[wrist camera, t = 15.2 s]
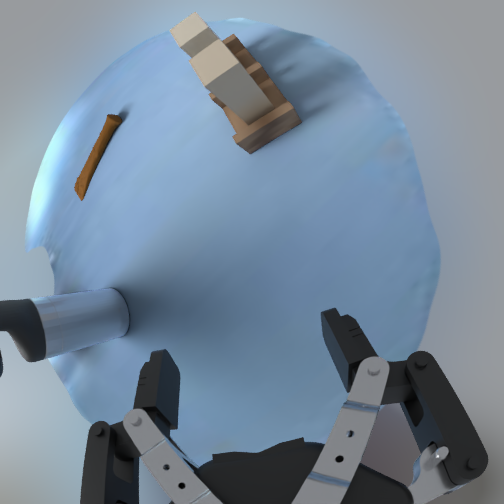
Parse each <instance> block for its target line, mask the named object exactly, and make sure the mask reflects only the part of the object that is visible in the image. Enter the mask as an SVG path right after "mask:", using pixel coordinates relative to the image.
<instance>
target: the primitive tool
mask: <svg viewBox="0 0 504 504" xmlns="http://www.w3.org/2000/svg"><path fill="white" fill-rule="evenodd" d="M120 123H122V119H121V118H120V117H119V116H118V115H112V114H110V115H109V114H108V115H107V119H106V122H105V124H104V127H103V129H102V131H101V133H100V136H99V138H98V139H97V141H96V143H95V145H94V147H93V149H92V151H91V153H90V155H89V157H88V160H87V162H86V164H85V166H84V168H83V169H82V171H81V174H80V176H79V177H78V178H77V182H76V183H75V187H74V188H75V191H76V193H77V195H78V196H79V198H80V199H81V201H82V200H83V198H84V196H85V194H86V191H87V189H88V186H89V183H90V181H91V178H92V176H93V174H94V171H95V169H96V166H97V165H98V163H99V160H100V158H101V156H102V154H103V152H104V150H105V148H106V145H107V143H108V141H109V139H110V137H111V136H112V134H113V132H114V130H115V129H116V128H117V126H118V125H120Z"/></svg>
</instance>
